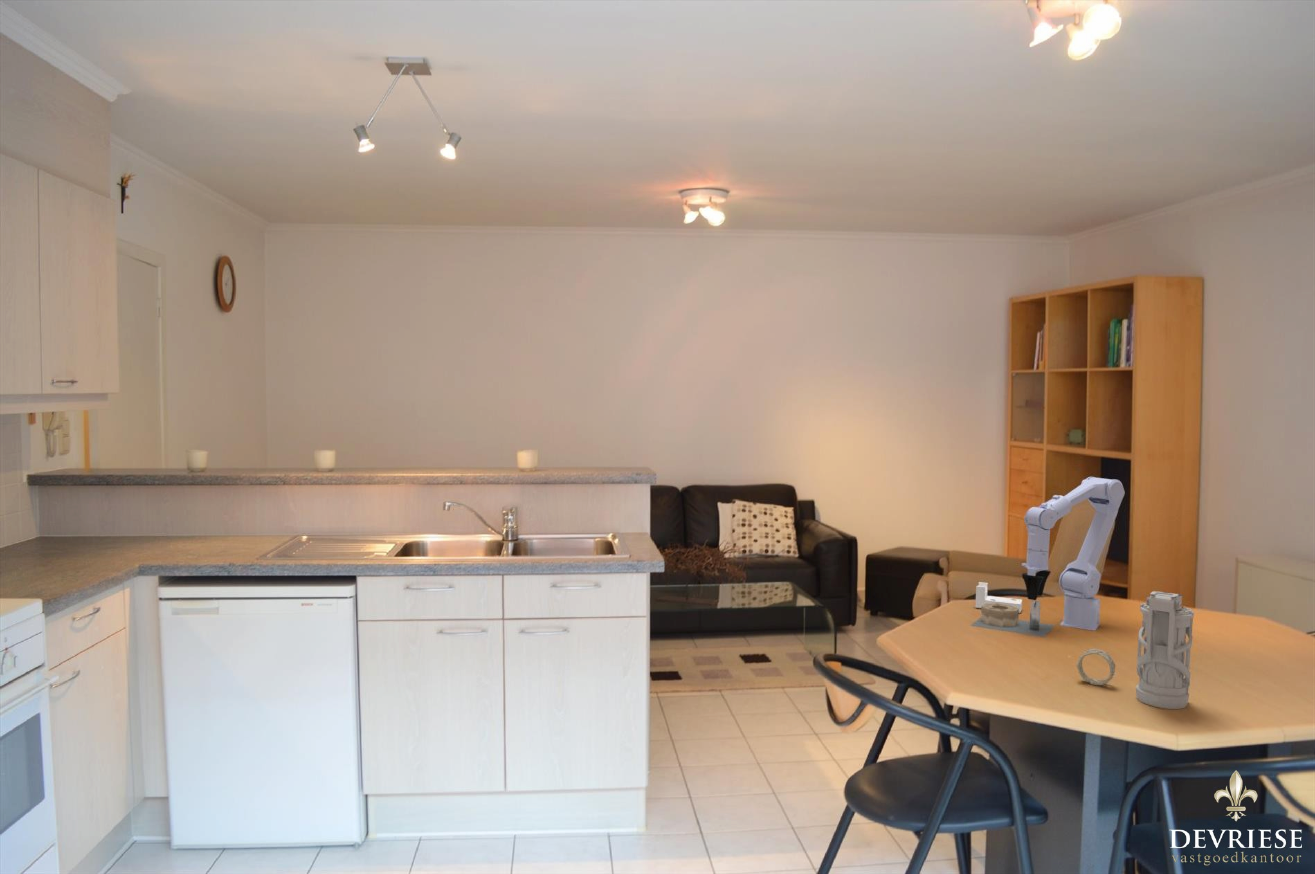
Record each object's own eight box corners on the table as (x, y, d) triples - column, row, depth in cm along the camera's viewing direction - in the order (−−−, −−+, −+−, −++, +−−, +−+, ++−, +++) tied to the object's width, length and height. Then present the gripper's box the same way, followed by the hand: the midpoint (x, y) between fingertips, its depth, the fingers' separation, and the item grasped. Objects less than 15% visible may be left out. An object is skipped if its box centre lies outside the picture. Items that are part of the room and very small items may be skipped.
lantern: (1139, 690, 216) (1145, 582, 214) (1191, 700, 209) (1198, 589, 208) (1128, 705, 205) (1134, 591, 204) (1182, 716, 199) (1189, 599, 198)
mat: (1055, 626, 273) (1055, 625, 273) (1044, 638, 260) (1044, 636, 260) (984, 615, 284) (984, 614, 284) (970, 626, 271) (970, 625, 271)
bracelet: (1079, 678, 224) (1080, 645, 223) (1115, 685, 219) (1117, 651, 219) (1075, 682, 221) (1076, 648, 220) (1112, 689, 216) (1113, 655, 216)
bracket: (975, 610, 292) (976, 586, 292) (977, 605, 298) (979, 582, 298) (1019, 615, 287) (1021, 591, 286) (1021, 610, 293) (1022, 586, 293)
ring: (1020, 621, 276) (1021, 606, 276) (1012, 628, 268) (1013, 612, 268) (986, 616, 282) (987, 601, 281) (978, 623, 274) (979, 607, 273)
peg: (1039, 629, 268) (1041, 601, 268) (1038, 631, 266) (1039, 603, 266) (1030, 627, 270) (1031, 600, 269) (1028, 629, 268) (1029, 601, 267)
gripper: (1028, 545, 275) (1025, 591, 276) (1017, 551, 263) (1014, 599, 264) (1054, 548, 271) (1051, 594, 272) (1044, 554, 259) (1041, 603, 260)
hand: (1034, 597), depth 268 cm, fingers open, 7 cm apart
